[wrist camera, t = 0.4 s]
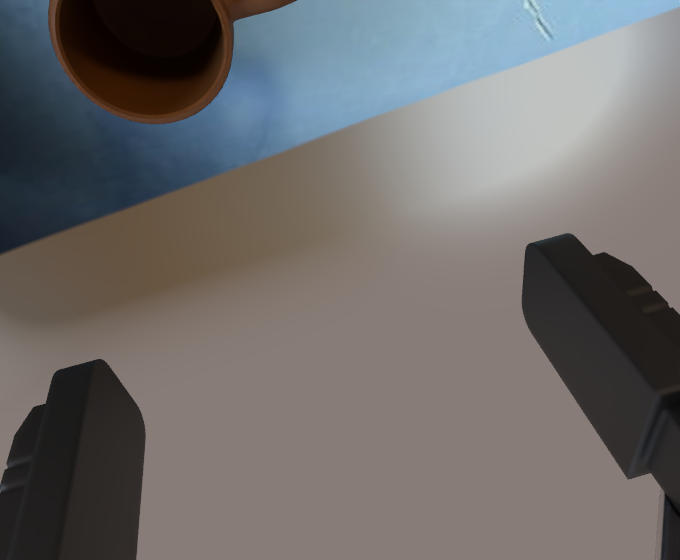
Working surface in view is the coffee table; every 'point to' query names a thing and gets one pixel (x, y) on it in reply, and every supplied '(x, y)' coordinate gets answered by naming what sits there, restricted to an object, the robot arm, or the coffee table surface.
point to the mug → (149, 52)
